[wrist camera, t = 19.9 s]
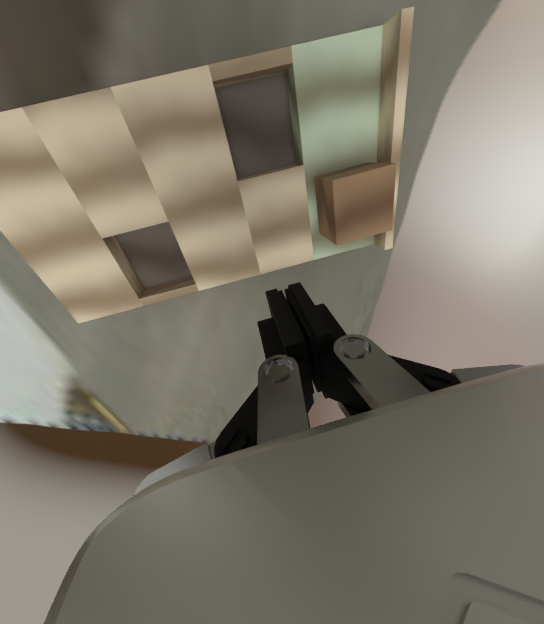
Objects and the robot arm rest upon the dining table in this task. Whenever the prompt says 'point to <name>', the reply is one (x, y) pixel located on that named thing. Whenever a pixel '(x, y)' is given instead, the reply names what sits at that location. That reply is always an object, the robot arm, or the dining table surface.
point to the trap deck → (199, 169)
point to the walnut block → (355, 201)
